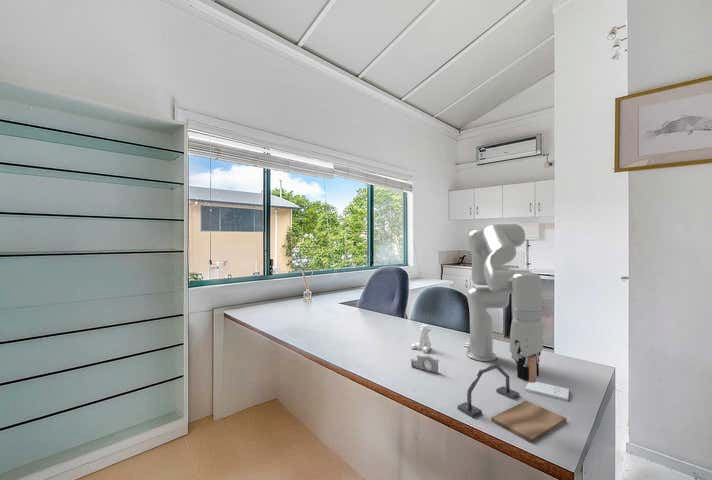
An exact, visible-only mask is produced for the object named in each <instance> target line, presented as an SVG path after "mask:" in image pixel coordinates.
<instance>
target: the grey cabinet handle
mask: <svg viewBox="0 0 712 480" xmlns="http://www.w3.org/2000/svg"><path fill="white" fill-rule="evenodd" d="M495 369H496V370H498V371H499V373H500V374H502V375H503V377H505V386H503V385H502V386H500V387H497V388H496V393H498V394H501V395H502V396H504V397H507V398H509V399H511V400H514V399H516V398H518V397H520V392H518V391H516V390H513V389H511V388H510V375H509V374H508V373H507V372H506V371H505V370H504V369H503V368H502V367H501V366H500V365H499V364H496V363H495V364H492V365H490V366H487V367H484V368H482V369H479V371H478V372H477V374H476V376H475V377H474V379H473V381H472V382H471V384H470V386H469V387H468V389H467V390H466V391H467V392H466V395H467V396H466V401H465V402H463V403H460V404H458V405H457V409H458V410H459V411H461V412H462V413H464V414H466V415H468V416H470V417H471V418H476V417H478V416H480V415H482V413H483V411H482V409H481V408H478V407H476V406H474V405H472V392H473V391H474V389H475V387H476V386H477V384H478V382H479V381H480V378H481V377H482V376H483V374H484V373H487V372H491V371H493V370H495Z"/></svg>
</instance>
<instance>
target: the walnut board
mask: <svg viewBox="0 0 712 480" xmlns="http://www.w3.org/2000/svg"><path fill="white" fill-rule="evenodd" d="M490 418H491V419H490V421H491V422H493V423H494V424H496V425H498V426H500V427H502V428H503V429H505V430H507V431H509V432H511V433H512V434H514V435H516V436H518V437H520V438H522V439H524V440H525V441H527V442H529V443H531V444H532V443H534V442H536V441H537V440H539V439H541V438H543V437H544V436H545V435H546V434H549V433H550V432H551V431H554V430H555V429H556V428H558V427H560V426H561V425H563V424H565V423H566V422H567V417H565V416H563V415H561V414H558V413H556V412H554V411H552V410H549V409H547V408H544V407H542V406H540V405H537V404H535V403H533V402H530V401H528V400H524V401H522V402H520V403H518V404H517V405H514V406H512V407H510V408H508V409H506V410H504V411H502V412H499V413H498V414H496V415H494V416H491V417H490Z"/></svg>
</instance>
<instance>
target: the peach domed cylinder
mask: <svg viewBox="0 0 712 480" xmlns="http://www.w3.org/2000/svg"><path fill="white" fill-rule="evenodd" d="M520 354H523V353H522V352H520ZM520 358H521V359H522V360H523V361H524V357H520ZM527 367H529V381H525V380H523V379H520V381H522V382H526V383H528V382H529V383H534V382H538V377H537V365H536V356H535V355H530V356H528V363H527Z"/></svg>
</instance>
